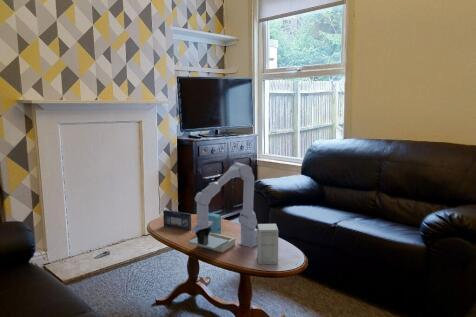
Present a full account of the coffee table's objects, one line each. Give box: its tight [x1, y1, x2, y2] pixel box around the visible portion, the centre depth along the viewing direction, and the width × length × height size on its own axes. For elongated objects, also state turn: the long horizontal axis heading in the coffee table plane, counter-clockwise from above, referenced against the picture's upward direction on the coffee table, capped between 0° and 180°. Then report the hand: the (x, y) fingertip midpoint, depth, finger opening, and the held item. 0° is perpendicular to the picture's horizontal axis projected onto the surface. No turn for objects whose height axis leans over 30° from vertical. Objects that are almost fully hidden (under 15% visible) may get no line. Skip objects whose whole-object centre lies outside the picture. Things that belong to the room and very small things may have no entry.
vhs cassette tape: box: [162, 209, 192, 232], centre depth 225 cm, size 18×3×10 cm, turn 64°
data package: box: [208, 212, 222, 235], centre depth 214 cm, size 12×4×12 cm, turn 63°
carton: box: [196, 233, 236, 254], centre depth 198 cm, size 16×12×4 cm
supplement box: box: [256, 223, 279, 265], centre depth 180 cm, size 10×9×17 cm
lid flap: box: [187, 235, 228, 251], centre depth 191 cm, size 16×12×5 cm
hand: (202, 242), depth 188 cm, fingers closed on lid flap, 2 cm apart
